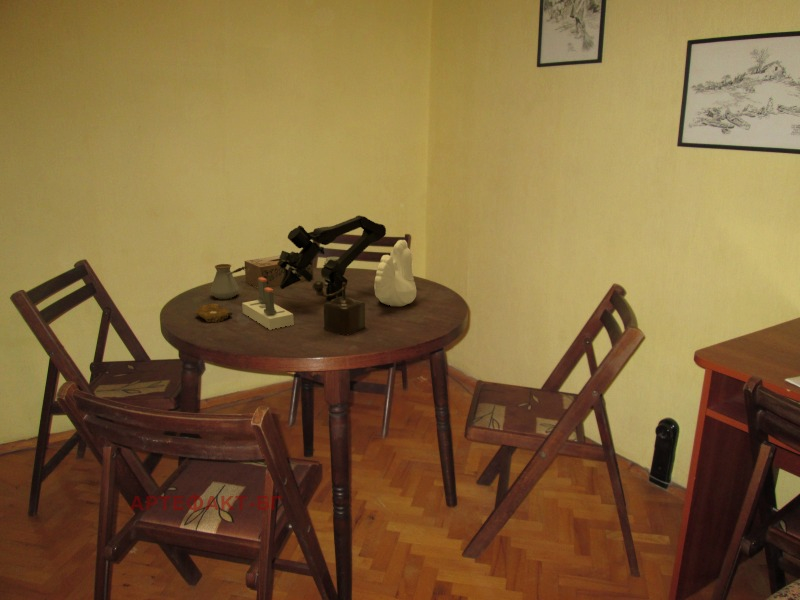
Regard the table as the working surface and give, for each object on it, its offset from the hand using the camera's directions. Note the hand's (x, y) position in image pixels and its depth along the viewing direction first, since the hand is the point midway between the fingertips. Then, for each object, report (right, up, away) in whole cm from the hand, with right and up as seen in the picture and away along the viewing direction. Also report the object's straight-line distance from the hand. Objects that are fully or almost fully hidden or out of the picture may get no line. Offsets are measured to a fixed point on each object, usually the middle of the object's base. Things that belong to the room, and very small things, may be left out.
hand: (280, 288), depth 227 cm
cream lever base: (-3, -11, -8) cm, 14 cm away
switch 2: (-1, -9, -16) cm, 18 cm away
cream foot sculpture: (+41, -7, +8) cm, 42 cm away
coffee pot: (-22, -4, +16) cm, 27 cm away
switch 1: (-6, -5, -3) cm, 8 cm away
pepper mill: (+24, -15, -19) cm, 34 cm away
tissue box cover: (-9, +3, +42) cm, 43 cm away
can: (+16, +2, +37) cm, 40 cm away
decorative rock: (-24, -11, -6) cm, 27 cm away
